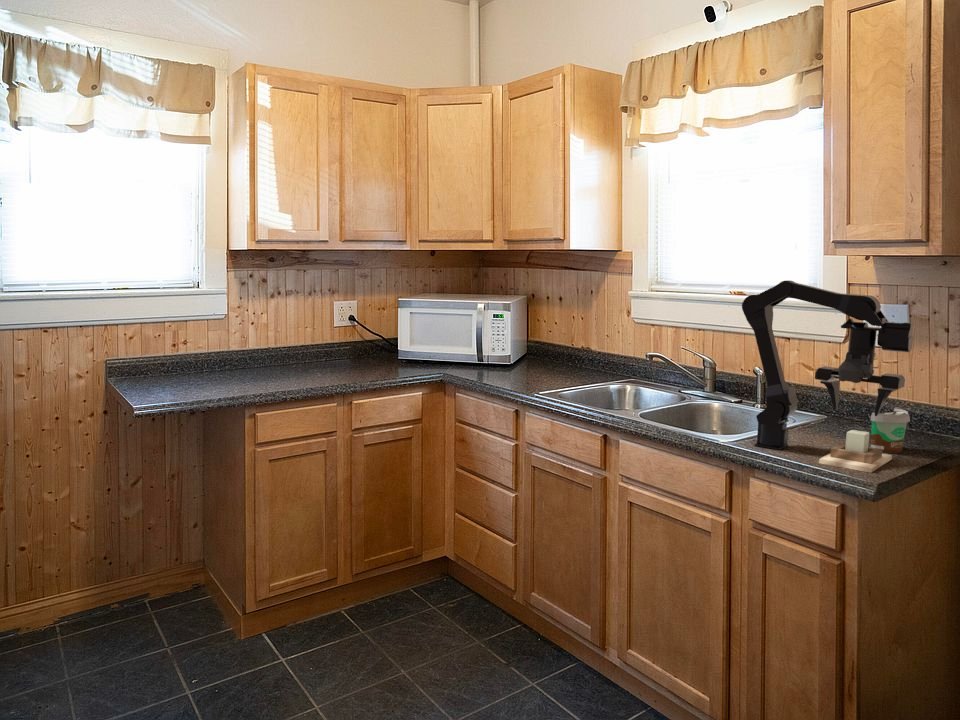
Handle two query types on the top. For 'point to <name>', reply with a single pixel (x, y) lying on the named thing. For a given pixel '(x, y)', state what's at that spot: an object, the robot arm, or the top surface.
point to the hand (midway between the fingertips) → (855, 412)
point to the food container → (889, 430)
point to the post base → (856, 458)
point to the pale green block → (857, 441)
